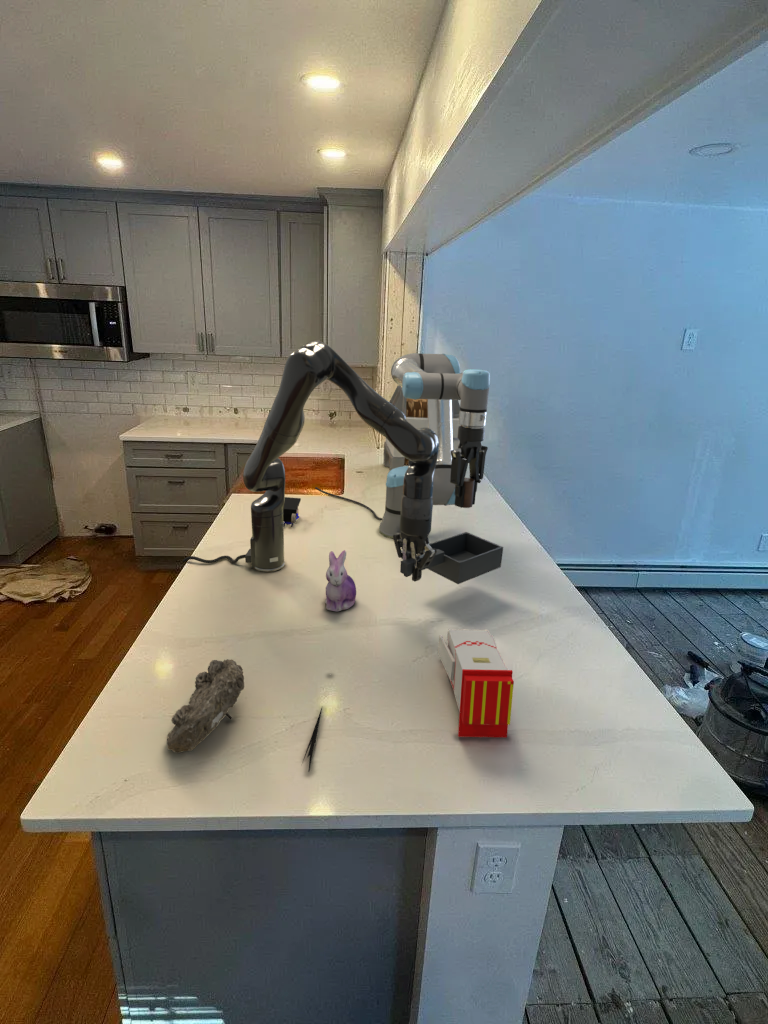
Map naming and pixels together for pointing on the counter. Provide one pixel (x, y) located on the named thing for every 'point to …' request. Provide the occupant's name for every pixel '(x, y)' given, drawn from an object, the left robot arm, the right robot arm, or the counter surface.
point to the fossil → (206, 705)
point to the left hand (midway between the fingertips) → (411, 577)
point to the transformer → (415, 424)
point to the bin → (461, 558)
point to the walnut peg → (468, 492)
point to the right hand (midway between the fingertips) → (464, 504)
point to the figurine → (339, 584)
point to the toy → (478, 682)
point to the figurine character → (290, 510)
